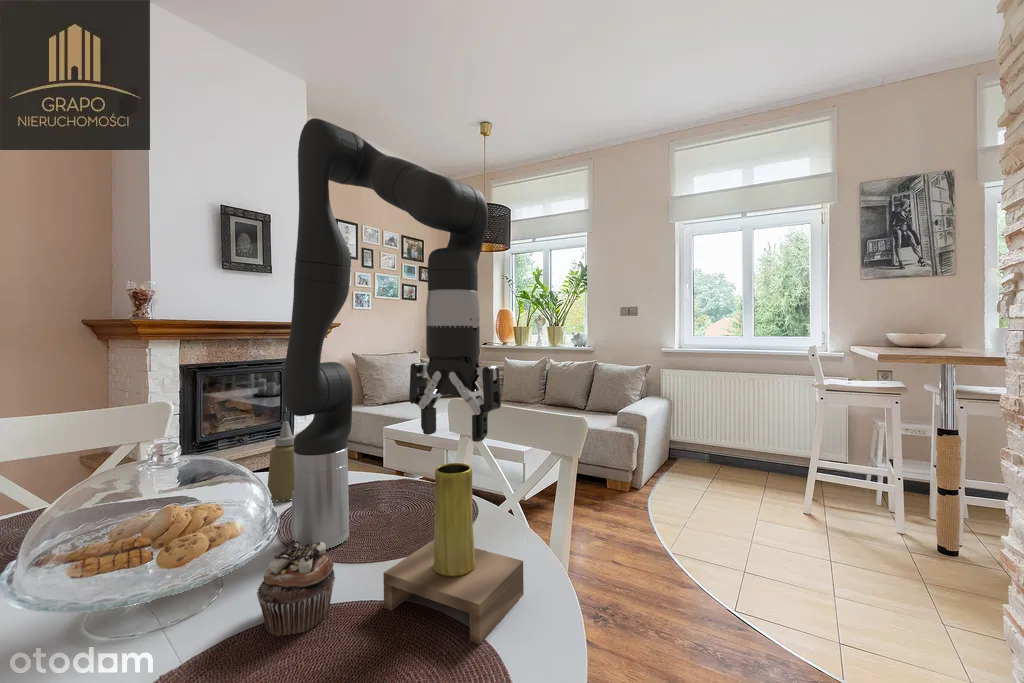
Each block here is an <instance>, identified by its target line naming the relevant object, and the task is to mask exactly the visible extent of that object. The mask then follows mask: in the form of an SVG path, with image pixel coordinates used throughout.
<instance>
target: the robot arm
mask: <svg viewBox="0 0 1024 683" xmlns="http://www.w3.org/2000/svg"><path fill="white" fill-rule="evenodd" d="M297 171H298V172H297V175H298V178H297V179H298V181H297V184H298V221H297V222H298V225H297V238H296V250H295V252H296V253H295V259H294V260H295V262H294V272H293V273H294V275H293V298H292V299H293V300H292V312H291V322H290V332H289V339H288V344H287V350H286V356H285V362H284V366H283V367H284V368H283V373H282V379H281V380H282V382H281V393H282V401H283V404H284V406H285V408H286V410H287V411H288V412H289V413H290V414H292V415H293V416H296V417H306V416H312V415H314V416H313V419H312V420H311V422H310V423H309V424H308V425H307V426H306V427H305V428H304V429H302V430H300V431H299V432H298V433H297V434H296V435H295V438H294V481H295V490H293V491H292V500H291V517H292V518H291V519H292V520H291V521H292V522H291V523H292V541H293V540H294V541H297V542H300V546H301V547H305V546H306V545H307V544H312V543H317V542H319V543H321V542H323V543H325V545H326V549H327V550H330V549H329V548H331V549H333V548H332V547H334V548H336V547H335V546H337V545H339V544H341V543H342V544H344V543H345V542H346V541H348V539H349V538H348V537H350V517H349V516H350V507H349V506H350V505H349V504H350V501H349V499H350V498H349V496H350V495H349V460H348V458H349V456H348V452H349V451H348V450H349V449H348V445H349V444H348V441H349V440H348V439H349V437H350V434H351V430H352V425H353V423H352V422H353V421H352V420H353V398H354V397H353V396H354V394H353V393H354V392H353V391H354V389H353V382H352V381H353V380H352V377H351V374H350V372H349V370H348V369H347V368H346V366H345V365H343V364H342V363H339V362H335V361H327V362H321V358H322V351H323V345H324V341H325V337H326V336H327V334H328V331H329V330H330V327H331V325H332V324H333V323H334V321H335V319H336V318H337V316H338V315H339V314H340V312H341V310H342V308H343V307H344V305H345V303H346V301H347V298H348V296H349V293H350V292H349V291H350V283H351V273H352V272H351V268H352V257H351V253H350V249H349V248H348V243H347V242H346V239H345V238H344V236H343V234H342V231H341V229H340V227H339V225H338V223H337V220H336V218H335V216H334V213H333V210H332V206H331V200H330V188H329V182H333V183H337V184H340V185H346V186H354V187H361V188H365V189H366V188H367V189H369V190H373V192H374V193H375V194H376V195H377V196H378V197H379V198H380V199H382V200H383V201H385V202H386V203H388V204H390V205H392V206H393V207H396V208H397V209H400V210H401V211H404V212H406V213H407V214H409V215H410V216H411V217H412V218H413V219H414V220H415V221H417V222H418V223H420V224H422V225H424V226H427V227H429V228H432V229H435V230H437V231H443V232H448V233H449V238H448V239H449V240H448V242H447V246H446V247H441V248H440V247H439V248H437V249H433V250H432V251H431V252H430V253H429V254H428V260H427V296H426V297H427V299H426V304H425V308H426V309H425V325H426V326H425V333H426V335H425V339H426V340H425V343H426V347H425V348H426V350H425V352H426V356H428V358H429V359H428V360H429V361H428V364H427V363H426V362H414V363H411V365H410V369H409V371H410V373H409V374H410V375H409V395H408V396H409V397H408V399H409V400H408V401H409V403H410V404H411V405H413V404H415V405H417V406H418V408H419V409H420V422H421V423H420V427H421V431H422V433H423V435H427V436H428V435H429V436H430V435H433V434H436V432H437V407H435V406H436V405H437V403H438V401H439V400H440V398H441V397H443V396H447V395H451V396H453V397H461V398H462V400H463V401H464V402H465V403H467V404H468V406H469V407H470V409H471V411H472V412H473V414H472V415H471V441H472V442H474V443H479V442H483V441H484V440H485V438H486V437H487V436H488V433H489V432H488V431H489V429H488V425H489V422H488V421H489V420H488V419H489V417H488V415H489V413H490V412H493V411H494V410H499V409H500V408H501V405H502V399H501V383H500V382H501V381H500V380H501V379H500V369H499V367H498V366H497V365H488V366H480V363H479V356H480V348H481V346H480V342H481V341H480V330H481V329H480V328H481V327H480V326H481V324H480V320H481V317H480V303H479V294H478V290H479V289H478V288H479V287H478V286H479V283H478V281H479V279H478V276H479V275H478V274H479V273H478V263H479V260H480V255H481V253H482V248H483V243H484V241H485V240H484V239H485V236H486V231H487V228H488V222H489V208H488V203H487V200H486V198H485V196H484V194H483V193H482V192H481V190H479V189H477V188H476V187H473V186H471V185H469V184H466V183H463V182H460V181H458V180H455V179H453V178H450V177H447V176H444V175H441V174H438V173H435V172H432V171H430V170H429V169H427V168H425V167H422V166H420V165H419V164H416V163H413V162H410V161H407V160H406V159H402V158H399V157H397V156H391V155H390V156H388V155H386V154H384V153H382V152H381V151H379V150H378V149H376V147H374V146H373V145H372V144H370V143H369V142H368V141H366V140H365V139H364V138H363V137H361V136H360V135H358V134H356V133H355V132H353V131H351V130H349V129H348V130H347V129H345V128H343V127H341V126H339V125H336V124H335V123H331V122H329V121H326V120H324V119H321V118H316V117H315V118H310V119H309V120H308V121H306V122H305V124H304V125H303V127H302V130H301V132H300V135H299V140H298V149H297ZM428 377H429V378H430V381H429V383H428V381H427V380H428ZM478 379H480V381H481V382H482V388H481V387H480V385H479V384H478ZM427 384H428V385H427ZM482 389H483V390H482ZM347 538H348V539H347ZM345 540H346V541H345ZM344 541H345V542H344ZM343 542H344V543H343ZM342 544H341V545H342ZM339 546H340V545H339ZM337 547H338V546H337Z"/></svg>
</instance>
